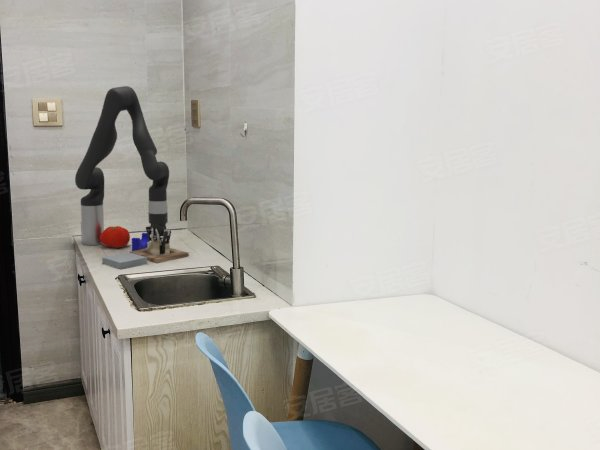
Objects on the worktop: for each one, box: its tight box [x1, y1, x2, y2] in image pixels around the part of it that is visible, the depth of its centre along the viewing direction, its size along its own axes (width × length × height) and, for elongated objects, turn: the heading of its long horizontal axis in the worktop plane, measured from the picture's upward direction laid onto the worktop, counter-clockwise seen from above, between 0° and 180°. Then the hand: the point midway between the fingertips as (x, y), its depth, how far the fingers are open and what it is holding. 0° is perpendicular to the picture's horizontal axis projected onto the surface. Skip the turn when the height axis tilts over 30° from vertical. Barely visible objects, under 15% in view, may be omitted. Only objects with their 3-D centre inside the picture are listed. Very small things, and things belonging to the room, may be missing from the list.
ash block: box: [147, 239, 171, 257], centre depth 254 cm, size 4×8×6 cm, turn 140°
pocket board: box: [129, 247, 189, 264], centre depth 254 cm, size 18×16×2 cm
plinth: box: [101, 251, 148, 270], centre depth 241 cm, size 12×12×2 cm
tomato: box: [100, 225, 131, 249], centre depth 267 cm, size 13×12×8 cm
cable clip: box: [131, 232, 151, 251], centre depth 265 cm, size 12×4×6 cm, turn 171°
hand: (158, 252), depth 254 cm, fingers closed on ash block, 4 cm apart
